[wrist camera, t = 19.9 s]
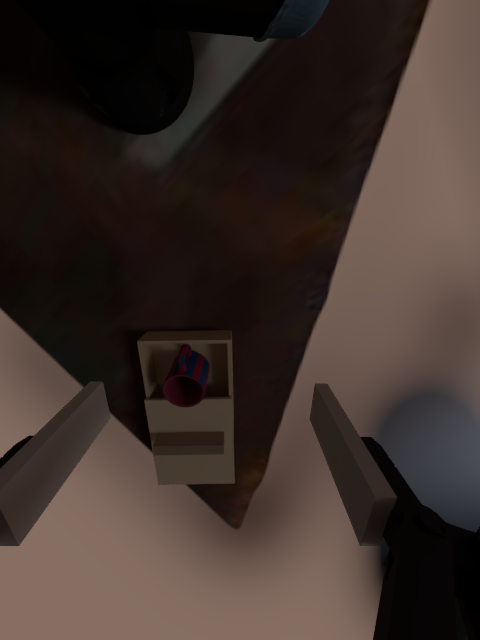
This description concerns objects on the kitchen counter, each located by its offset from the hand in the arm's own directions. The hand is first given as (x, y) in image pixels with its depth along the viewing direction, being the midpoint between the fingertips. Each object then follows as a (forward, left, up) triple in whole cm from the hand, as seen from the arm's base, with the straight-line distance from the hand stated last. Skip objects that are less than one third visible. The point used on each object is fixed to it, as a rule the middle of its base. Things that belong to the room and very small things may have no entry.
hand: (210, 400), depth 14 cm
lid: (+26, -7, -22) cm, 35 cm away
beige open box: (+15, -7, -27) cm, 32 cm away
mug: (+10, -7, -26) cm, 29 cm away
